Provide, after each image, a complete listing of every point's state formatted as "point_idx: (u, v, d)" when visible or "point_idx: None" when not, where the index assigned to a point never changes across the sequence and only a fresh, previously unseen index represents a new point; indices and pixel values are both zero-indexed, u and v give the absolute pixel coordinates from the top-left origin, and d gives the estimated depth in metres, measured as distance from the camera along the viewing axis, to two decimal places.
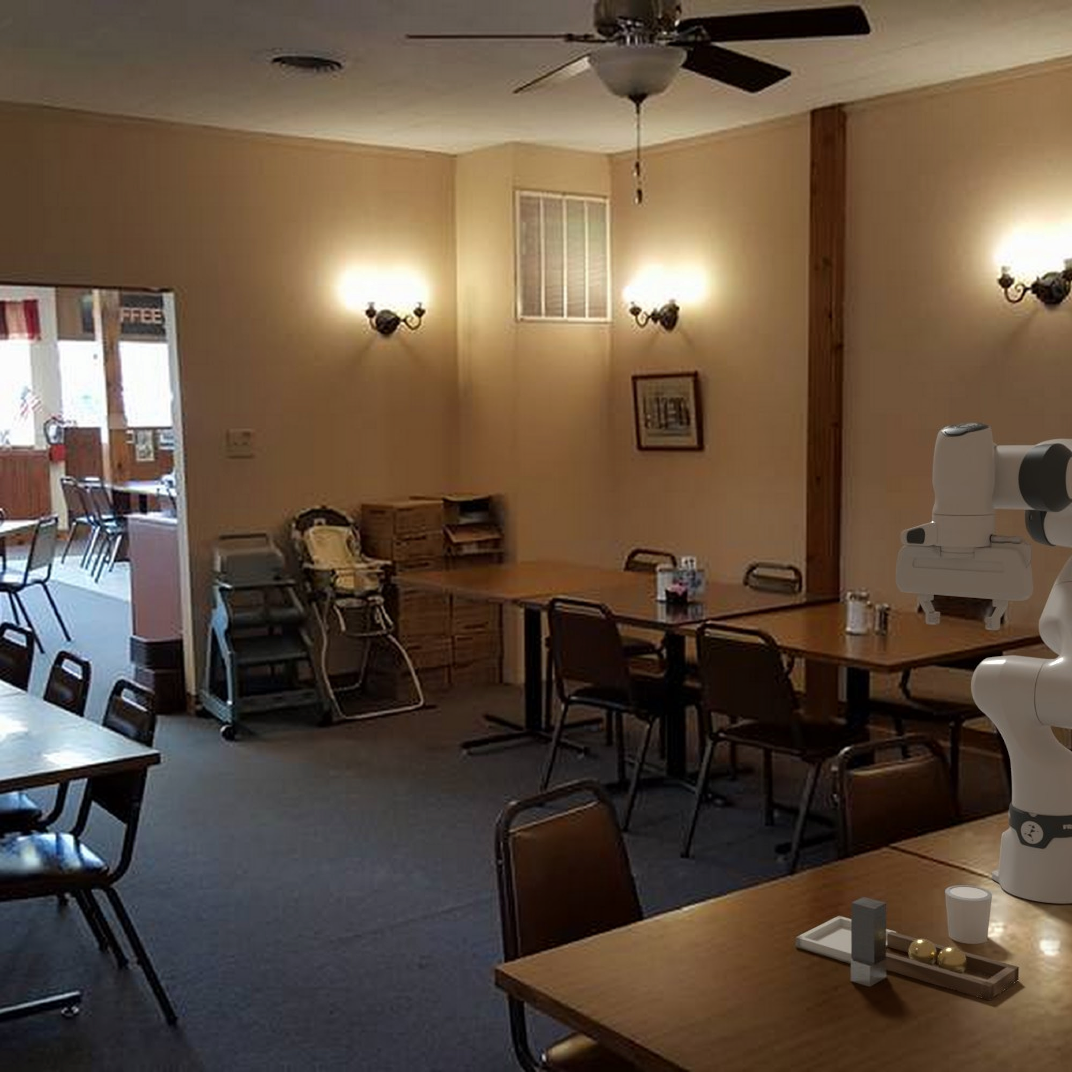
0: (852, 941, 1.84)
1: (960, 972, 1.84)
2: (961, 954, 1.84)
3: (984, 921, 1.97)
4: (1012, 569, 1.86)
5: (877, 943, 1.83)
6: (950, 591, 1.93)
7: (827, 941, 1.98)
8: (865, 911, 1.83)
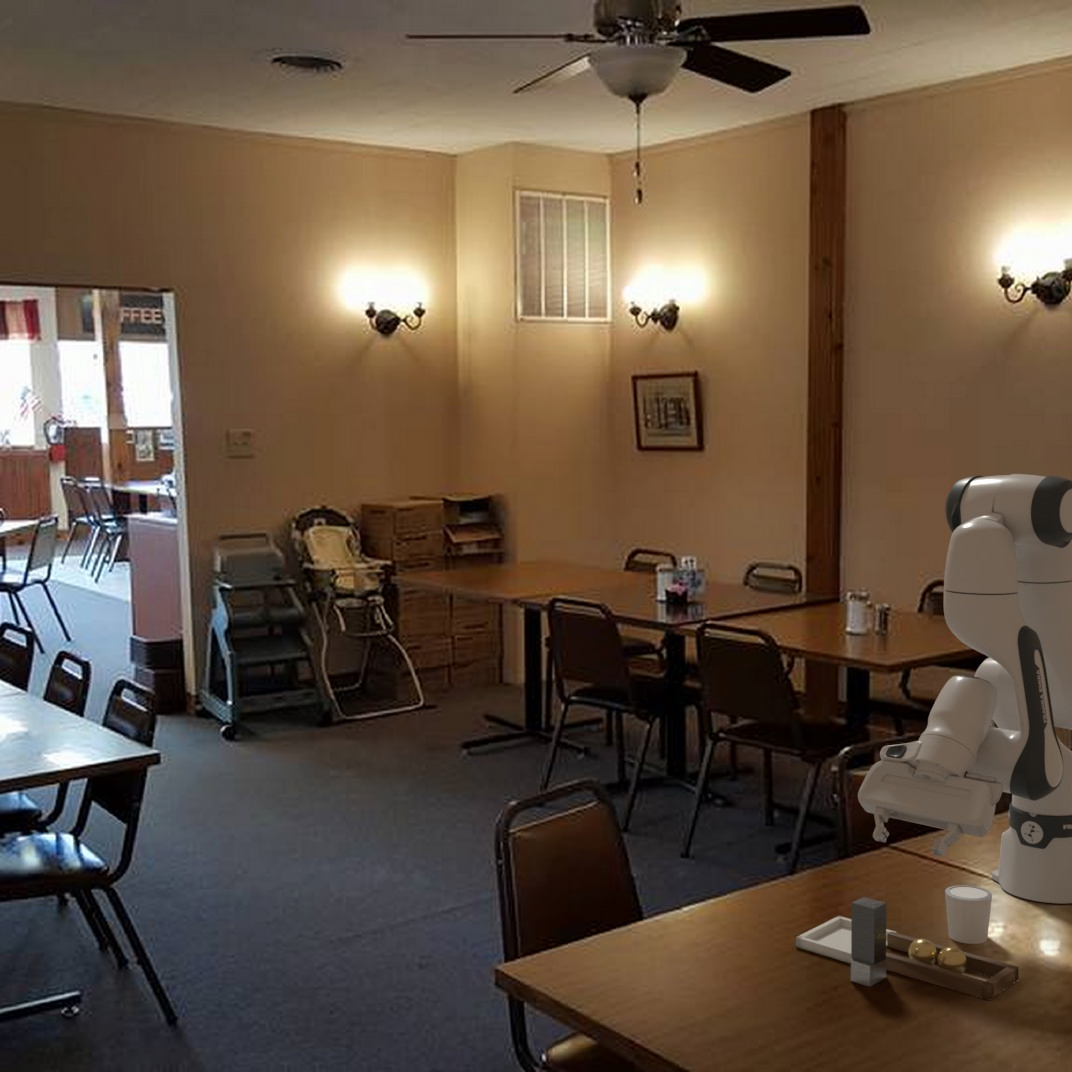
0: (852, 941, 1.84)
1: (960, 972, 1.84)
2: (961, 954, 1.84)
3: (984, 921, 1.97)
4: (979, 797, 1.89)
5: (877, 943, 1.83)
6: (910, 807, 1.93)
7: (827, 941, 1.98)
8: (865, 911, 1.83)
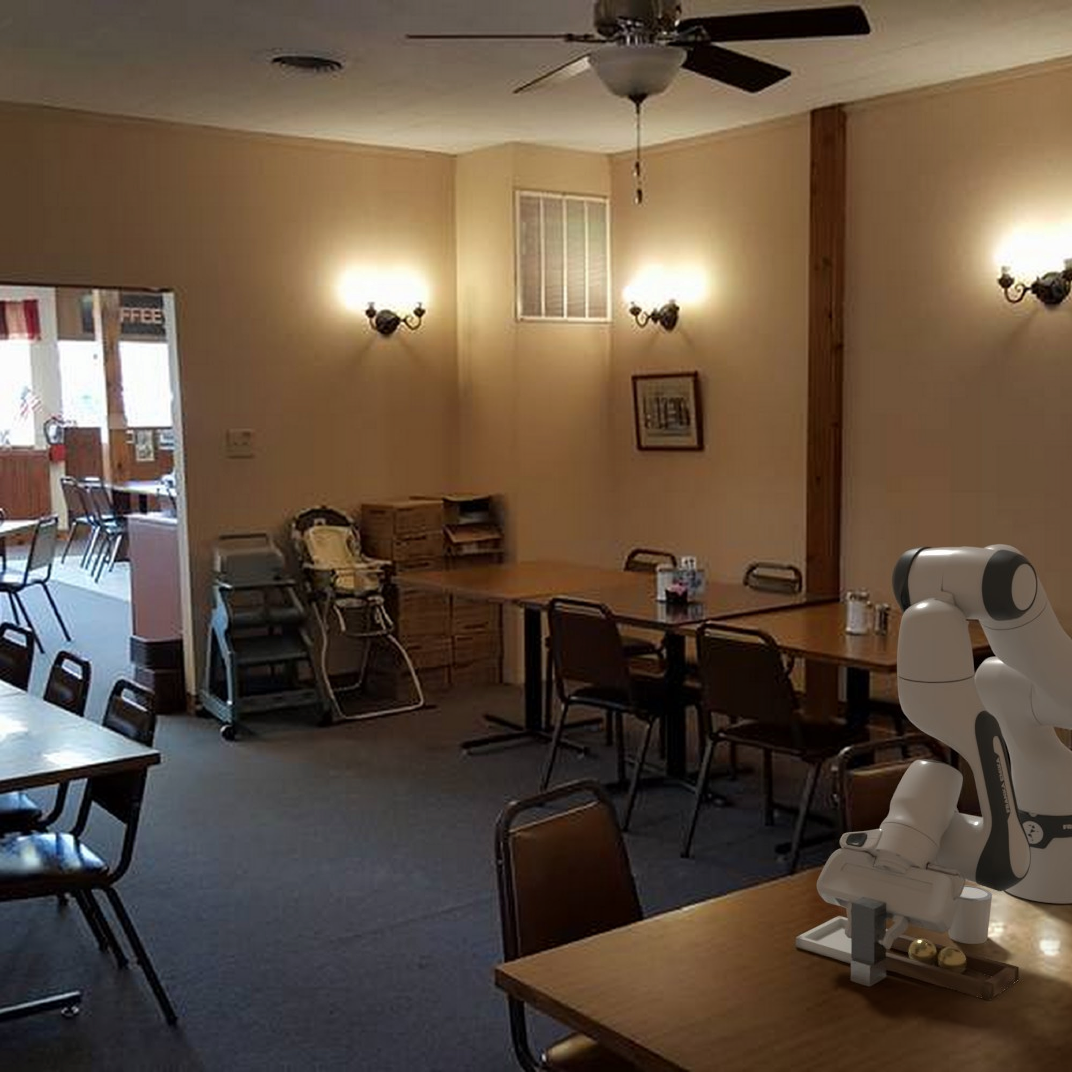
0: (852, 941, 1.84)
1: (960, 972, 1.84)
2: (961, 954, 1.84)
3: (984, 921, 1.97)
4: (940, 891, 1.81)
5: None
6: None
7: (827, 941, 1.98)
8: (865, 911, 1.83)
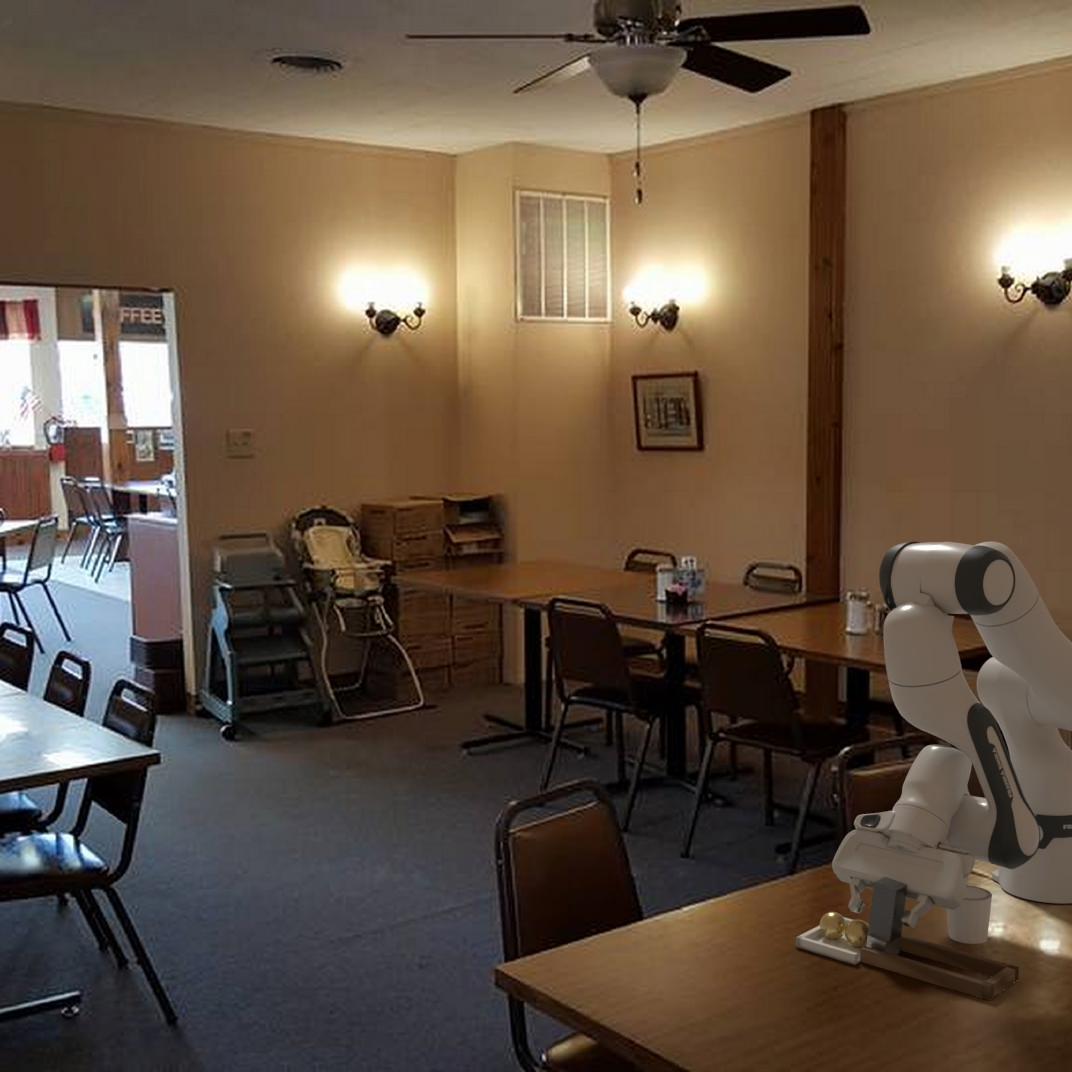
0: (871, 917, 1.92)
1: (865, 931, 1.94)
2: None
3: (984, 921, 1.97)
4: (951, 869, 1.90)
5: (895, 922, 1.90)
6: (883, 877, 1.94)
7: (827, 941, 1.98)
8: (886, 891, 1.90)
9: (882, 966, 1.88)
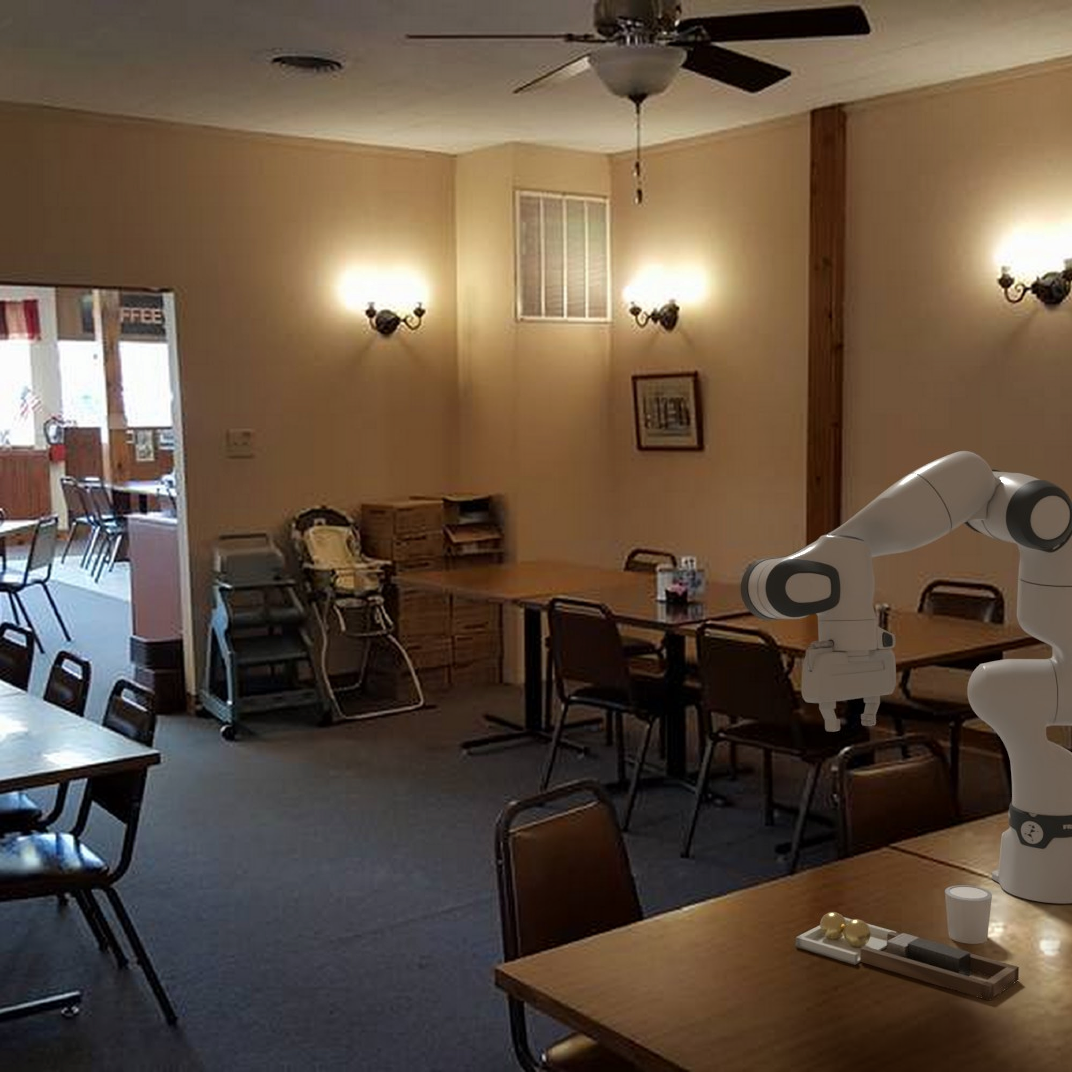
0: (923, 949, 1.87)
1: (862, 929, 1.94)
2: None
3: (984, 921, 1.97)
4: None
5: None
6: None
7: (827, 941, 1.98)
8: None
9: (882, 966, 1.88)
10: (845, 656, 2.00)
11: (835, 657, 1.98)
